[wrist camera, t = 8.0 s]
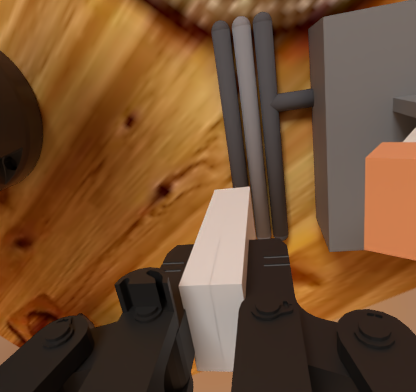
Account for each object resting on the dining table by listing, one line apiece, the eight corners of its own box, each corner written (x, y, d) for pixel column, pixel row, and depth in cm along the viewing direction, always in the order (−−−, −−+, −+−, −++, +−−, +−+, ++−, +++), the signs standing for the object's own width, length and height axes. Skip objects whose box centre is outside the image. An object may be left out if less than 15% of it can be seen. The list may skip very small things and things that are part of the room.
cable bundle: (241, 239, 31) (240, 246, 30) (211, 23, 25) (209, 21, 23) (324, 233, 30) (327, 240, 29) (317, 2, 23) (320, -2, 22)
